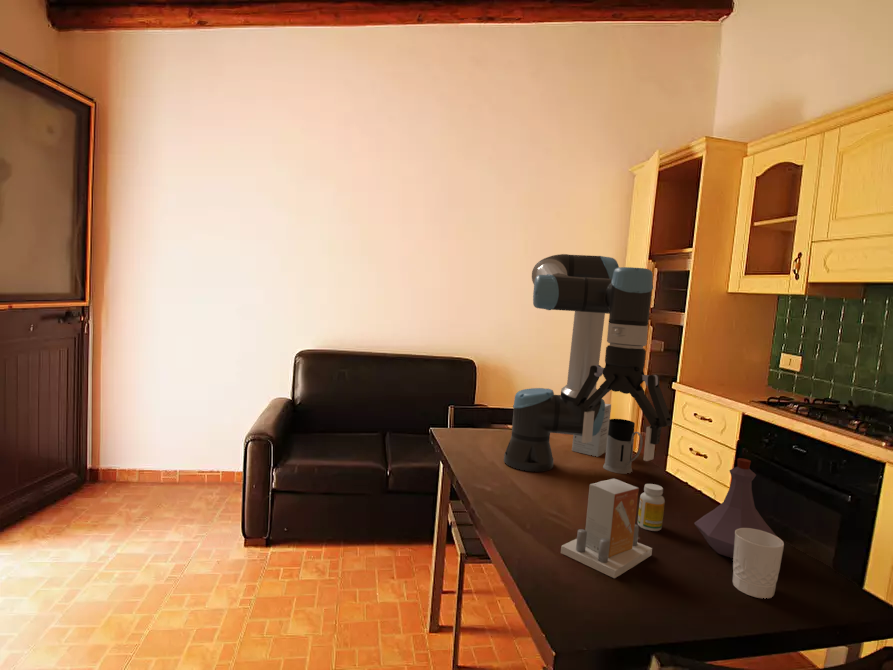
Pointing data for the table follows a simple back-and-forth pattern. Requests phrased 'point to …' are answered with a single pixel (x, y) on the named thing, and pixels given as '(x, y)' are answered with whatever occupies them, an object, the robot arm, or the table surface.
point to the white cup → (756, 562)
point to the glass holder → (620, 446)
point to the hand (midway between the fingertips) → (616, 450)
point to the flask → (733, 512)
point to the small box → (611, 515)
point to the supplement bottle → (651, 508)
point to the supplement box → (594, 438)
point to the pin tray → (613, 560)
